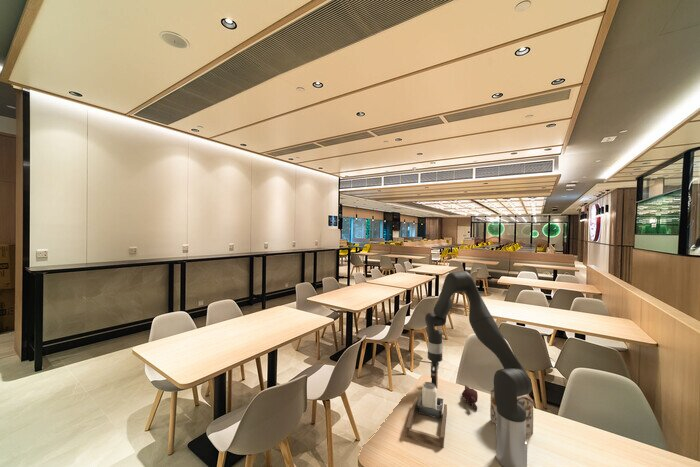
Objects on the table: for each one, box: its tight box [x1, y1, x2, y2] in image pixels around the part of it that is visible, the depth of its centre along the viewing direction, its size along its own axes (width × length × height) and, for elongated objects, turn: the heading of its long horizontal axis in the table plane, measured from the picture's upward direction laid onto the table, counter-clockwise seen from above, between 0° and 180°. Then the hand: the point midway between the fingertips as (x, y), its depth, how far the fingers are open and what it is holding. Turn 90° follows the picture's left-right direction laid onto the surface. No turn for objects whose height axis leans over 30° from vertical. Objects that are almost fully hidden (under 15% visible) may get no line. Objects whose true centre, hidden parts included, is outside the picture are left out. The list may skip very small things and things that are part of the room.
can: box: [421, 381, 438, 410], centre depth 127 cm, size 6×6×12 cm
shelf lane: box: [405, 397, 448, 449], centre depth 118 cm, size 14×22×4 cm, turn 157°
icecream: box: [461, 385, 479, 412], centre depth 135 cm, size 7×7×15 cm
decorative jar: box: [489, 387, 534, 436], centre depth 118 cm, size 12×12×18 cm
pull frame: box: [416, 373, 444, 420], centre depth 135 cm, size 10×26×10 cm, turn 157°
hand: (434, 380), depth 146 cm, fingers open, 8 cm apart
